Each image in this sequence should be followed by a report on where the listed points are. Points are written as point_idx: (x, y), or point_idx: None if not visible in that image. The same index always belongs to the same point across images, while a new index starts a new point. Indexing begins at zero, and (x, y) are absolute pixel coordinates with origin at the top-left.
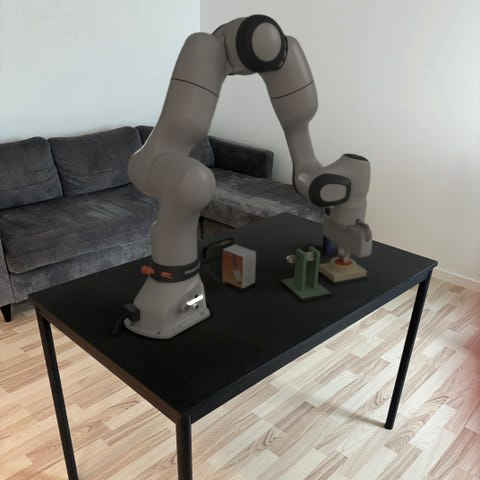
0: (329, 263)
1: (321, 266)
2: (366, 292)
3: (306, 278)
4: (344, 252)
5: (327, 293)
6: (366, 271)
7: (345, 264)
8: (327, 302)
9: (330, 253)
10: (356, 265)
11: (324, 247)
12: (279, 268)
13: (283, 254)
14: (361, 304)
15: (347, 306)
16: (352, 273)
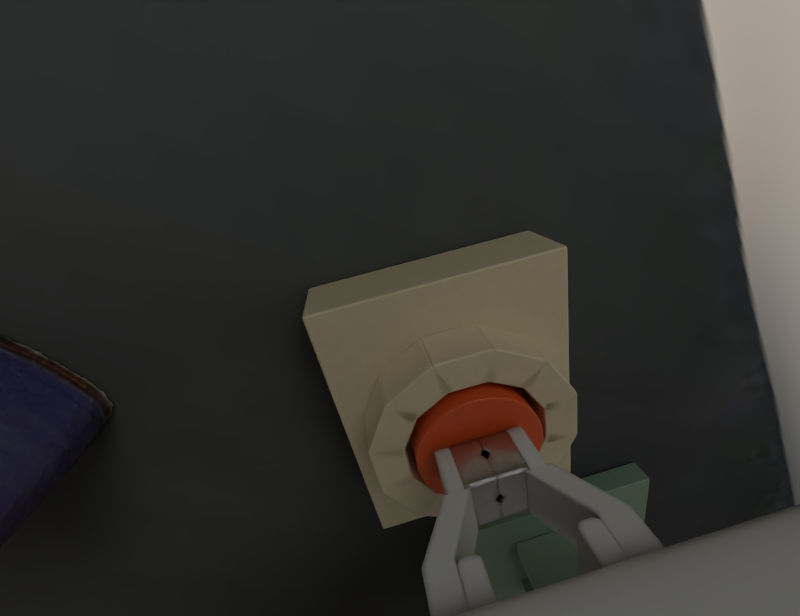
0: (374, 473)
1: (416, 518)
2: (682, 292)
3: (481, 550)
4: (469, 501)
5: (646, 487)
6: (563, 247)
7: (538, 442)
8: (671, 476)
9: (47, 385)
10: (449, 299)
11: (44, 494)
12: (301, 612)
13: (87, 607)
14: (761, 355)
15: (739, 414)
16: (568, 366)
